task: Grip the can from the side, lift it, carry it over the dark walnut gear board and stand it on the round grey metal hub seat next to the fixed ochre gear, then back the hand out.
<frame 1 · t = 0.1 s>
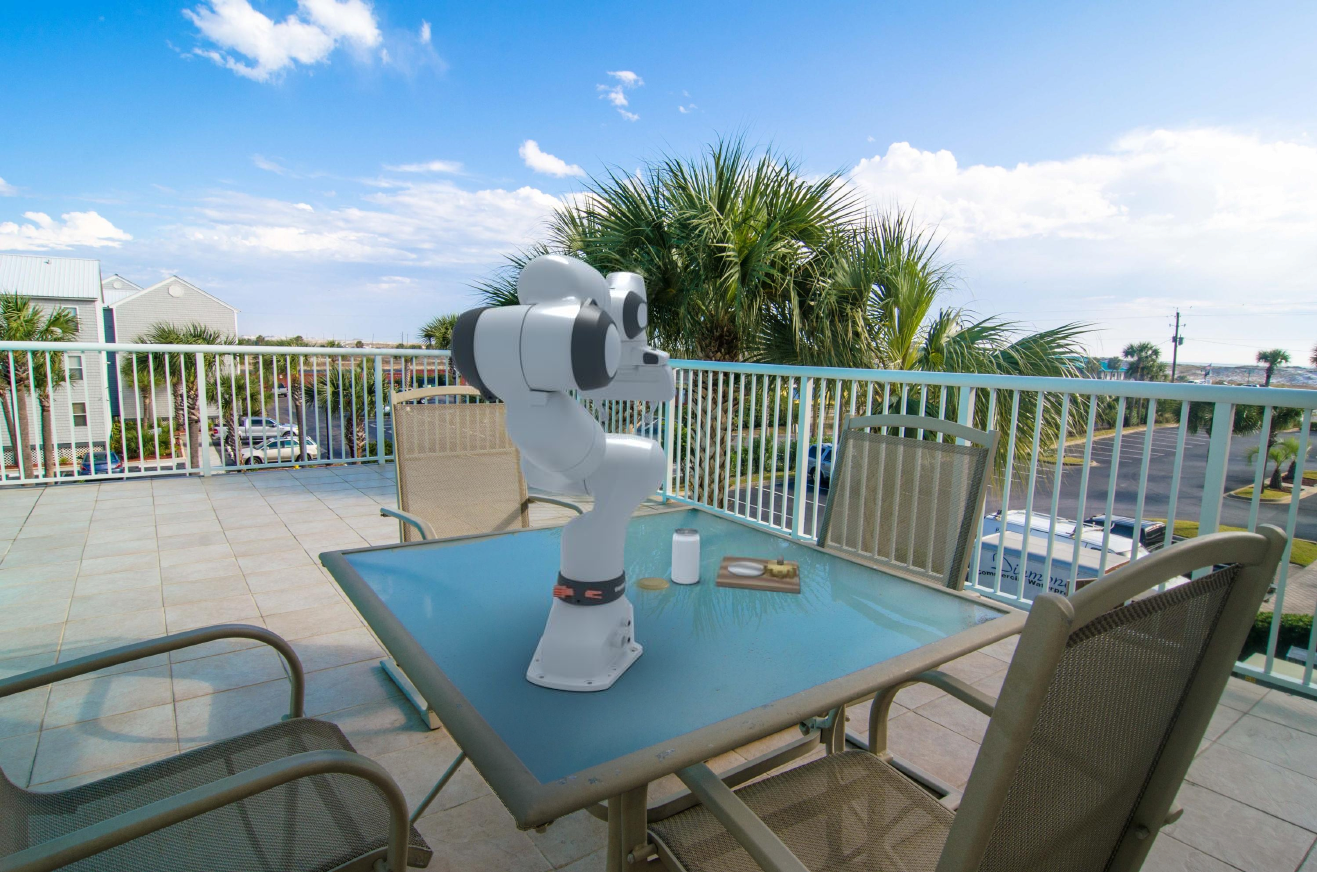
hand: (626, 421, 134), 39 cm above the table, tool pointing down, fingers open, 8 cm apart
can: (684, 581, 153), on the table
gear board: (758, 575, 157), on the table
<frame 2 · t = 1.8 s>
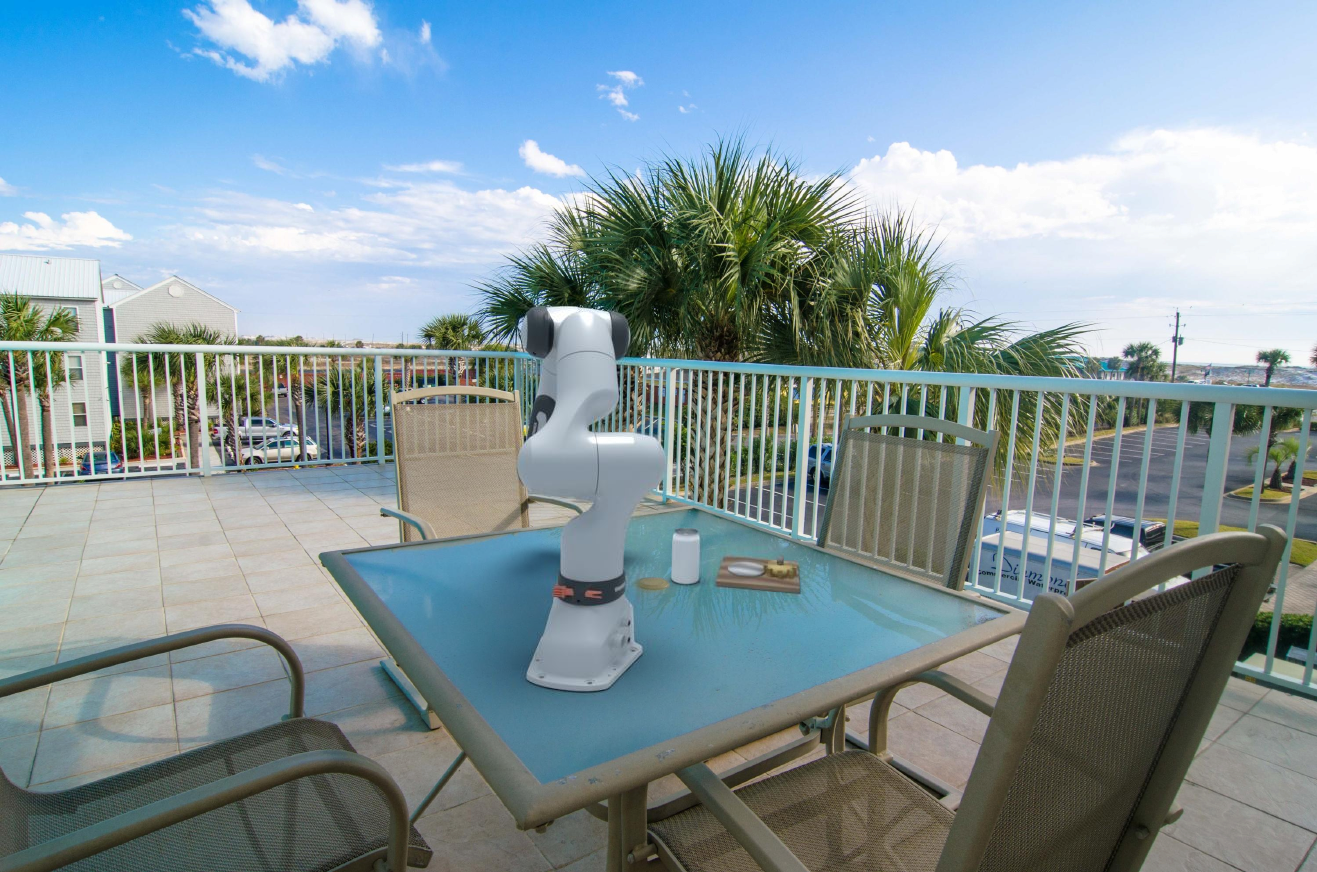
hand: (641, 491, 156), 20 cm above the table, tool horizontal, fingers open, 8 cm apart
nothing on the table moved.
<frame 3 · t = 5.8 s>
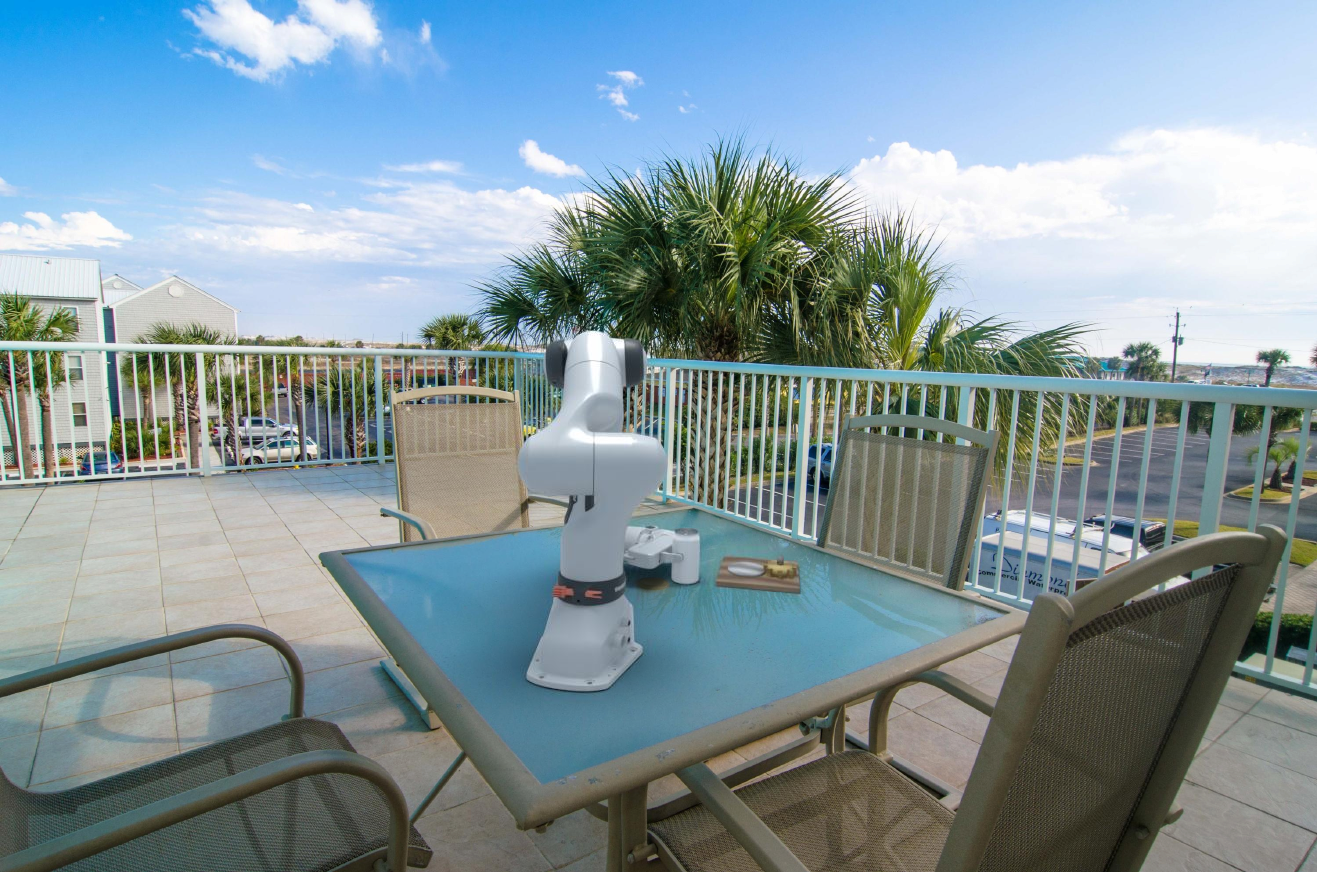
hand: (689, 554, 152), 7 cm above the table, tool horizontal, fingers open, 6 cm apart
can: (684, 581, 153), on the table, touching gripper
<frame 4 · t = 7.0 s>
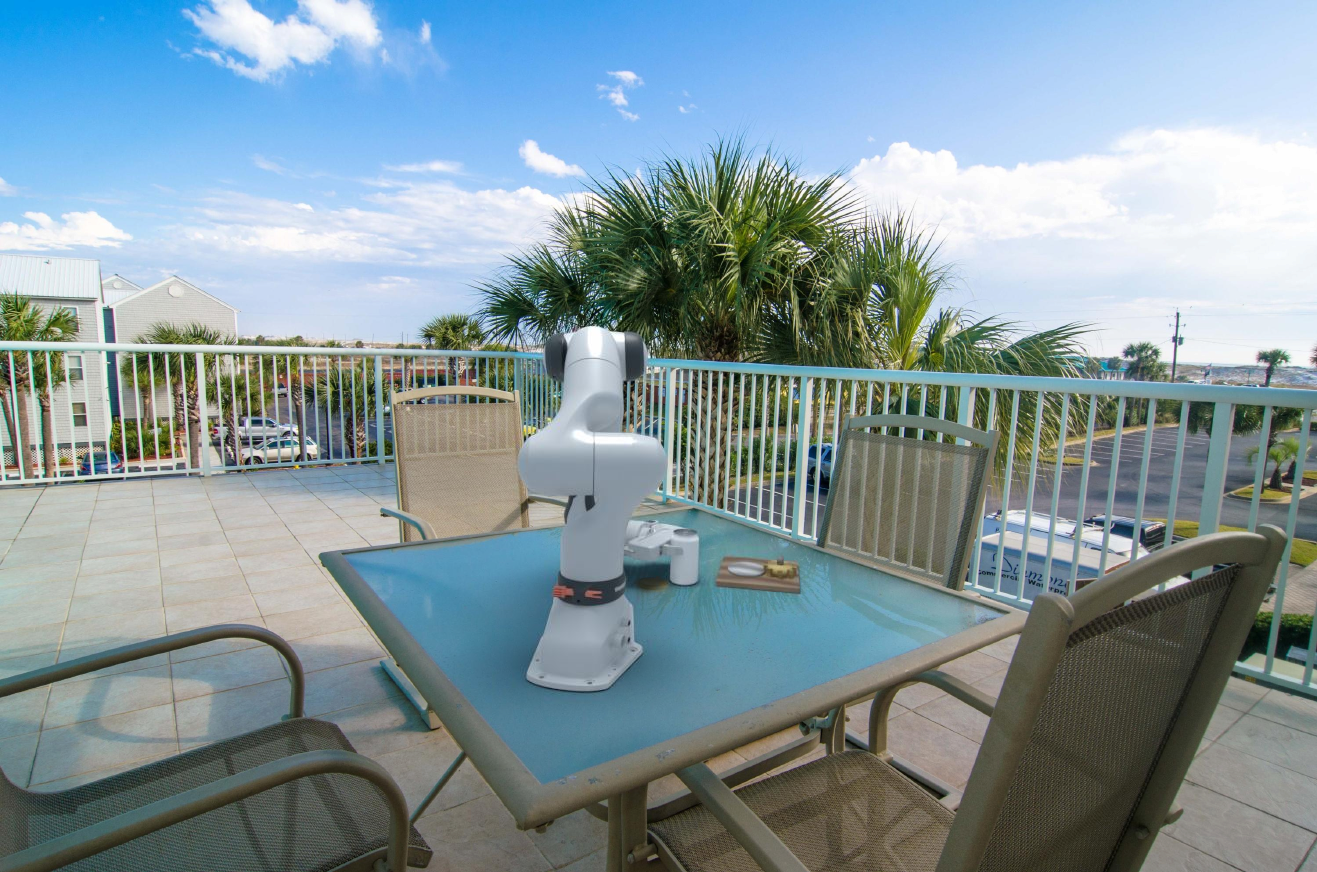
hand: (689, 547, 151), 8 cm above the table, tool horizontal, fingers closed on can, 5 cm apart
can: (683, 582, 152), on the table, touching gripper
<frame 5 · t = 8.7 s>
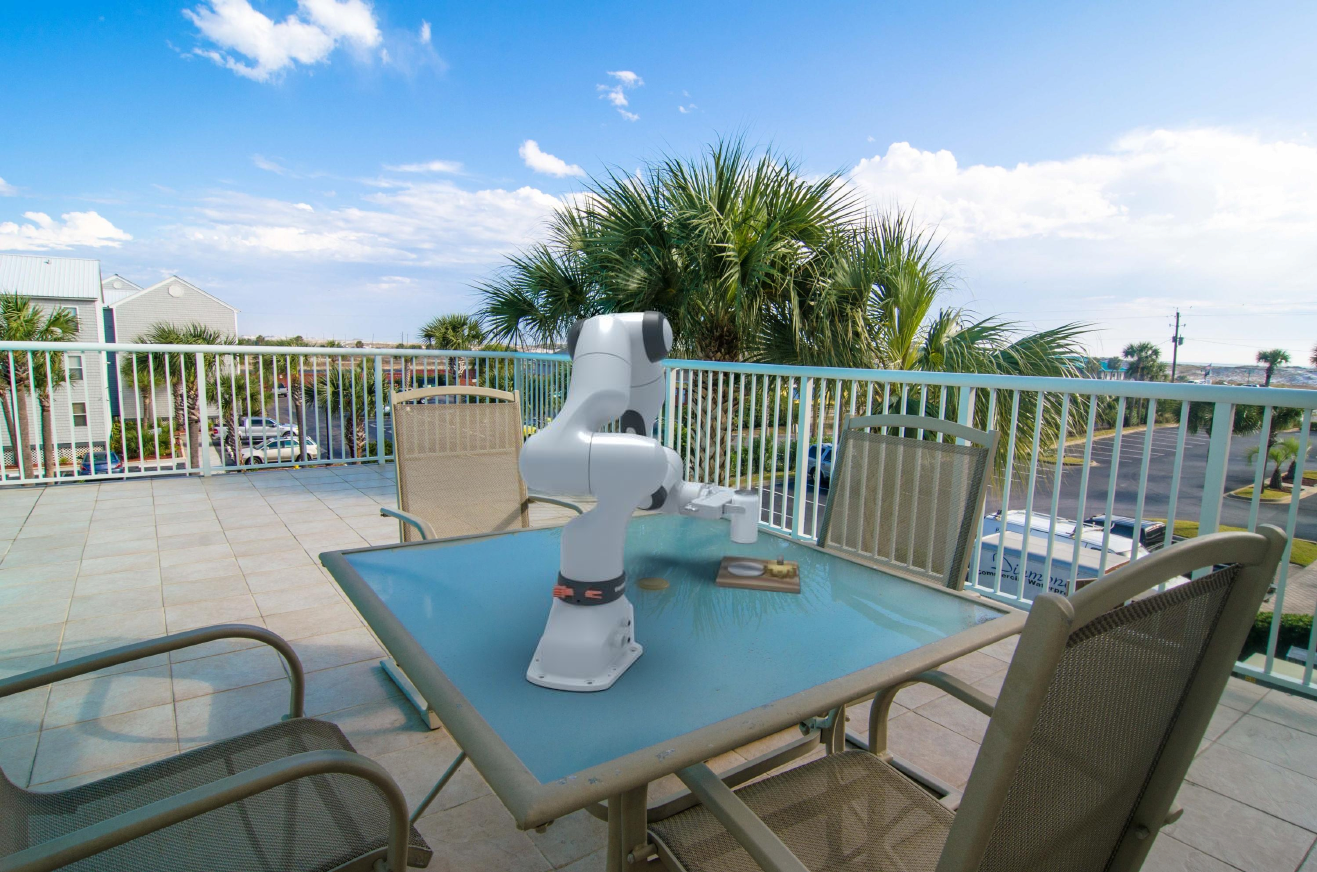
hand: (750, 507, 155), 17 cm above the table, tool horizontal, fingers closed on can, 5 cm apart
can: (743, 541, 156), point 9 cm above the table, touching gripper
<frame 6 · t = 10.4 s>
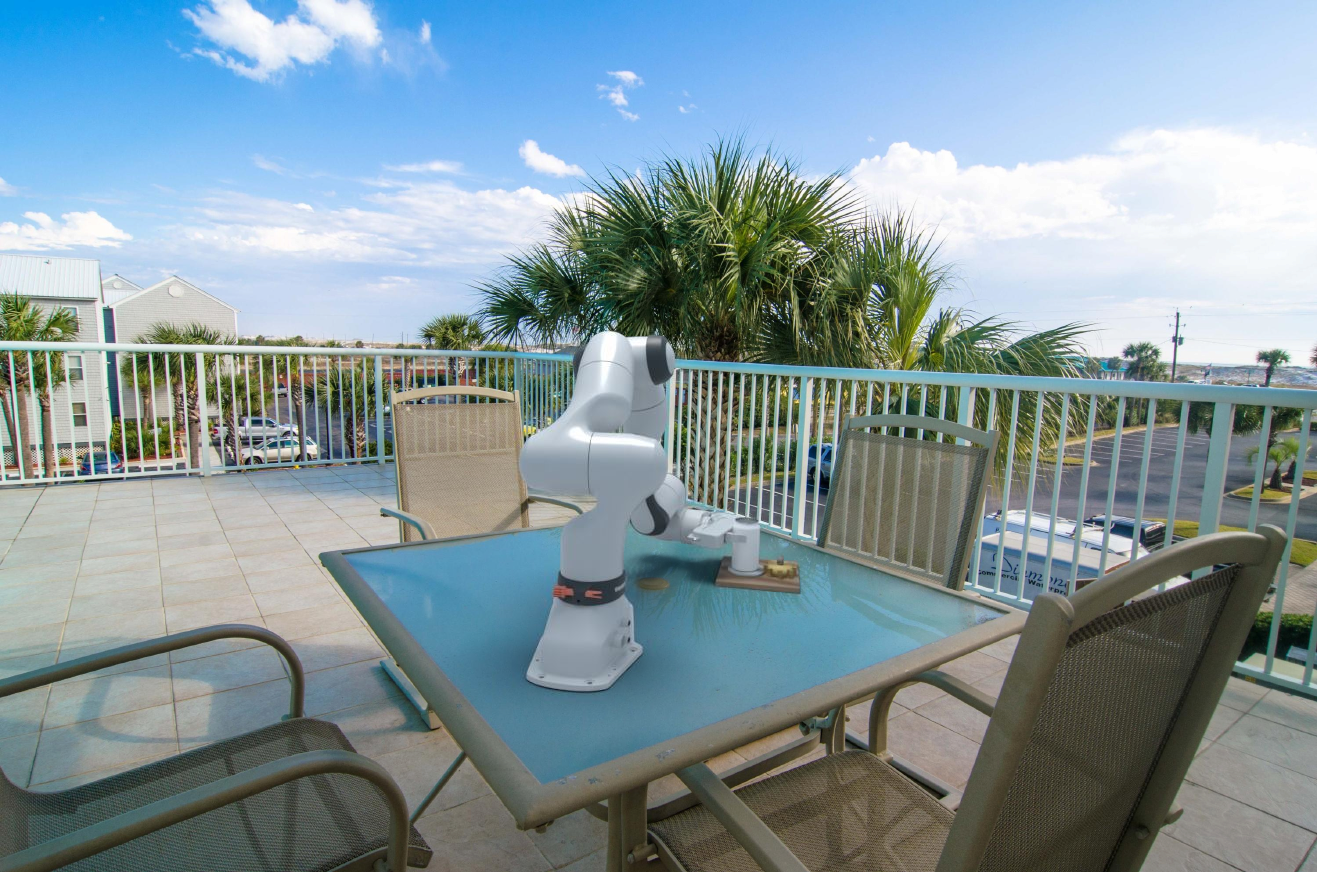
hand: (751, 535, 155), 10 cm above the table, tool horizontal, fingers closed on can, 5 cm apart
can: (744, 568, 156), point 2 cm above the table, touching gear board, gripper
when the fingers open (10 cm above the table, at t = 10.5 s): can stays where it is, resting on gear board.
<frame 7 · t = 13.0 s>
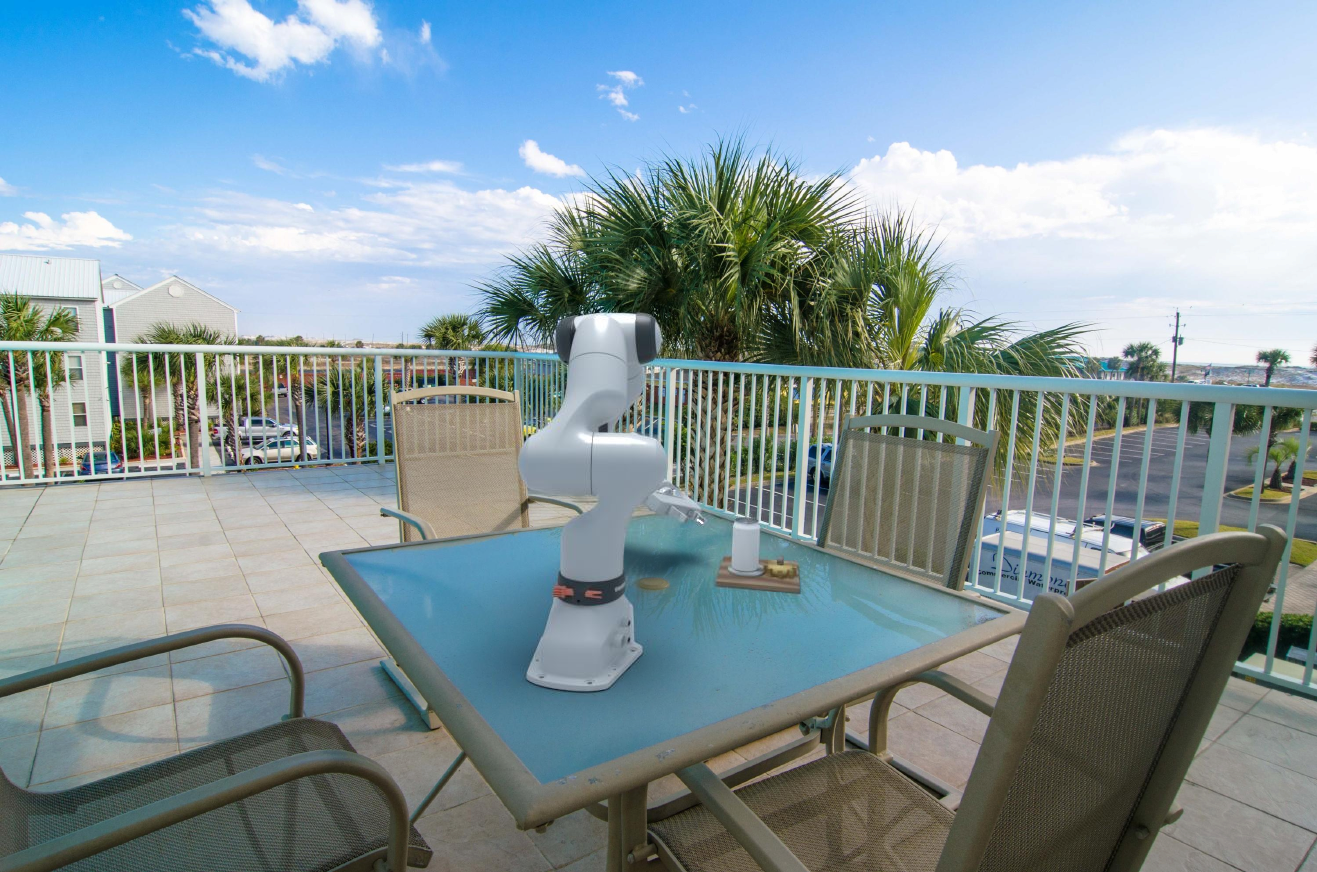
hand: (695, 521, 158), 13 cm above the table, tool tilted 70°, fingers open, 8 cm apart
can: (744, 568, 156), point 2 cm above the table, touching gear board
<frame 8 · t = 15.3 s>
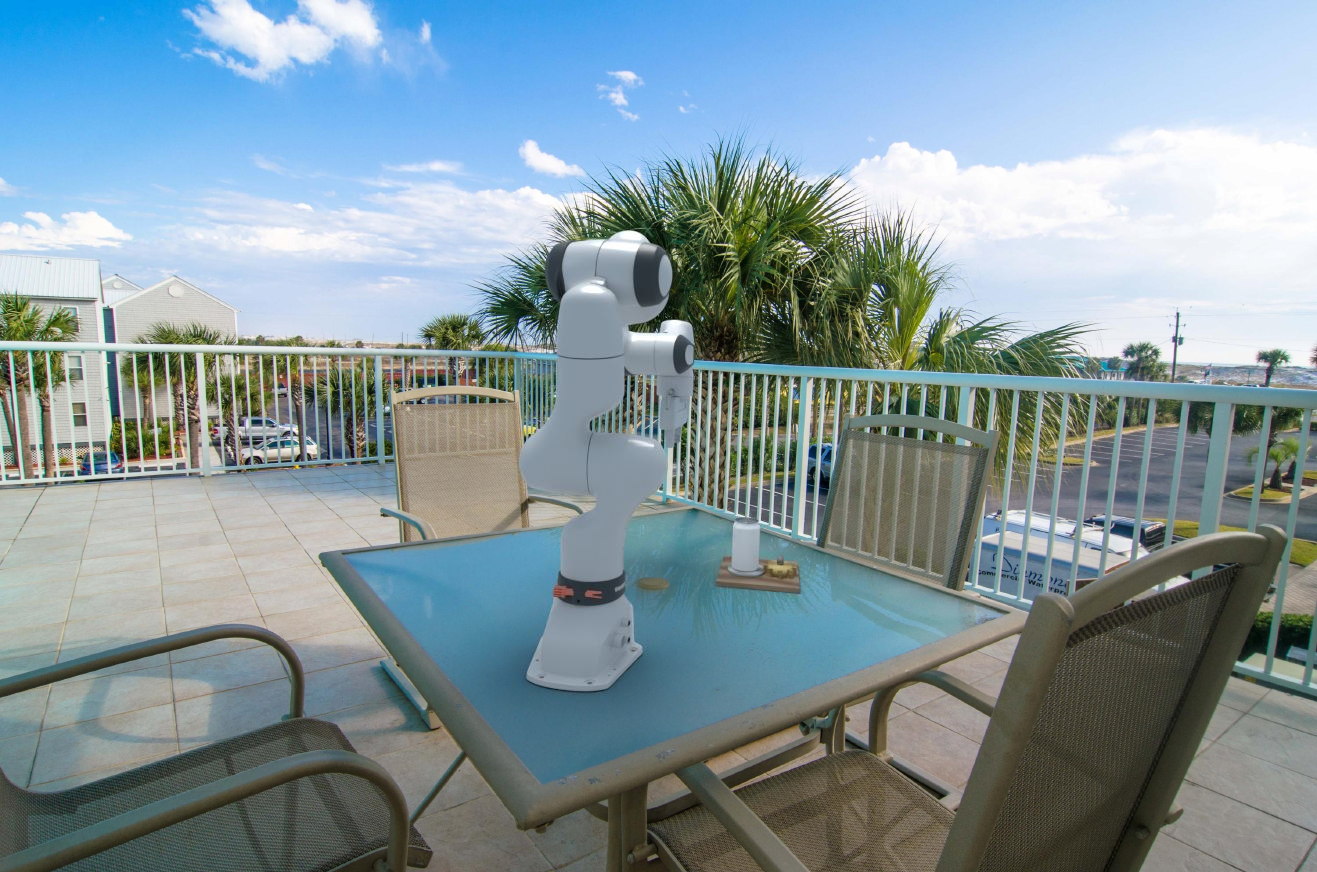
hand: (673, 445, 158), 31 cm above the table, tool pointing down, fingers open, 8 cm apart
nothing on the table moved.
at the end: can 0.6 cm from the target spot, point 1.8 cm above the table; can tilted 0°; the gripper is holding nothing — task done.
